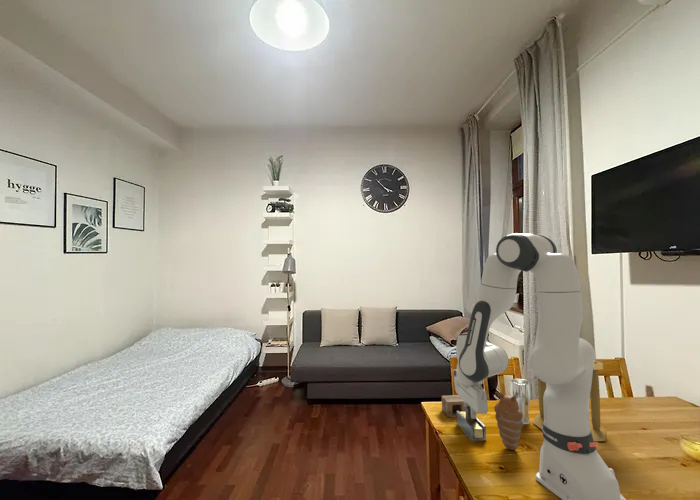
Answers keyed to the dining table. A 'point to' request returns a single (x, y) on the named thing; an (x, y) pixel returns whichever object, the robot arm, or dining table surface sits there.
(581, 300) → the robot arm
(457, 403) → the socket
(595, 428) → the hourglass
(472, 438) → the grey track with slider
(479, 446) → the dining table surface
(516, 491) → the dining table surface
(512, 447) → the cat ice cream
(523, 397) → the silver cup
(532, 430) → the dining table surface
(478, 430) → the tan grey t-shaped block
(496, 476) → the dining table surface
